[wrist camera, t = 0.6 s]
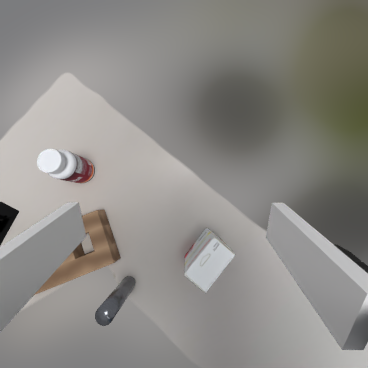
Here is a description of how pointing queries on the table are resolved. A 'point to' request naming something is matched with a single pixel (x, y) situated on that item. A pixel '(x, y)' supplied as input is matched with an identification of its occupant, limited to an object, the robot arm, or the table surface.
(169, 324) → the table surface
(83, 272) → the socket block
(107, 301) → the pin
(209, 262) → the ink box
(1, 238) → the black stepped mount
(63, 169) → the pill bottle
